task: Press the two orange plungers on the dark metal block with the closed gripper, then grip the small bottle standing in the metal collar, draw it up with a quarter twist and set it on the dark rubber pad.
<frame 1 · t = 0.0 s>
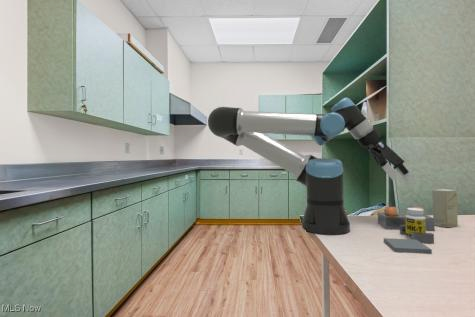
hand: (403, 179, 93), 15 cm above the table, tool tilted 35°, fingers open, 13 cm apart
plunger block: (404, 226, 86), on the table
plunger left: (390, 213, 87), point 4 cm above the table, slide at 0.0 cm
supplement bottle: (415, 238, 74), on the table
skincare box: (445, 226, 87), on the table
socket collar: (415, 238, 74), on the table
plunger right: (417, 213, 85), point 4 cm above the table, slide at 0.0 cm
pad: (406, 247, 66), on the table
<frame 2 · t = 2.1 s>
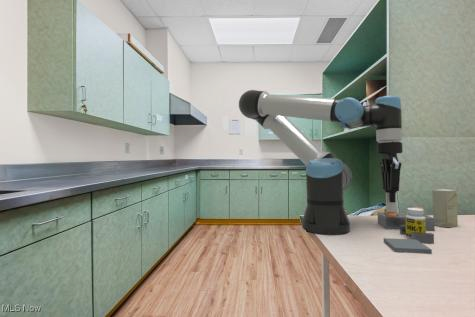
hand: (391, 211, 87), 5 cm above the table, tool pointing down, fingers closed
plunger left: (391, 218, 87), point 3 cm above the table, slide at 1.6 cm, touching gripper
everything else where it was.
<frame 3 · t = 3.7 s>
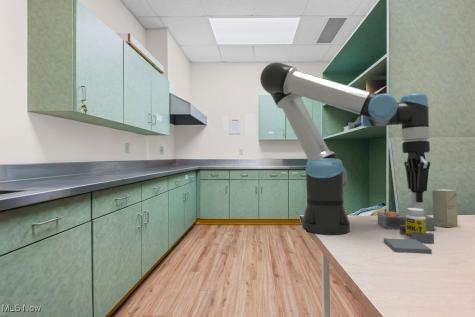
hand: (417, 211, 85), 5 cm above the table, tool pointing down, fingers closed
plunger left: (391, 218, 87), point 3 cm above the table, slide at 1.7 cm
plunger right: (417, 218, 85), point 3 cm above the table, slide at 1.6 cm, touching gripper
everything else where it was.
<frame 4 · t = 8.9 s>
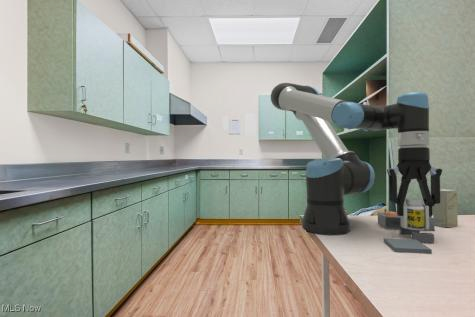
hand: (414, 227, 74), 3 cm above the table, tool pointing down, fingers closed on supplement bottle, 5 cm apart
supplement bottle: (414, 229, 74), point 2 cm above the table, touching gripper
plunger right: (417, 218, 85), point 3 cm above the table, slide at 1.7 cm
everything else where it was.
when the fingers open (2 cm above the table, at t = 12.8 s): supplement bottle stays where it is, resting on pad.
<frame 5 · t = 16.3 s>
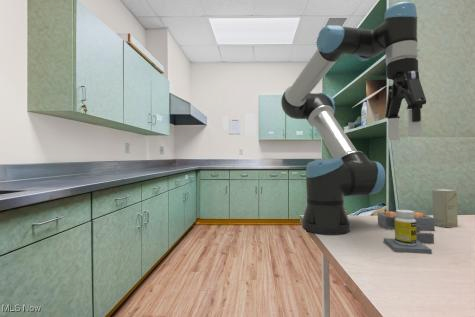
hand: (403, 138, 71), 29 cm above the table, tool pointing down, fingers open, 13 cm apart
supplement bottle: (405, 244, 66), point 1 cm above the table, touching pad
everything else where it was.
at the end: supplement bottle inside the target area on the pad (0.1 cm from its centre), point 0.8 cm above the pad's base; plunger left slide at 1.7 cm; plunger right slide at 1.7 cm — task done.
